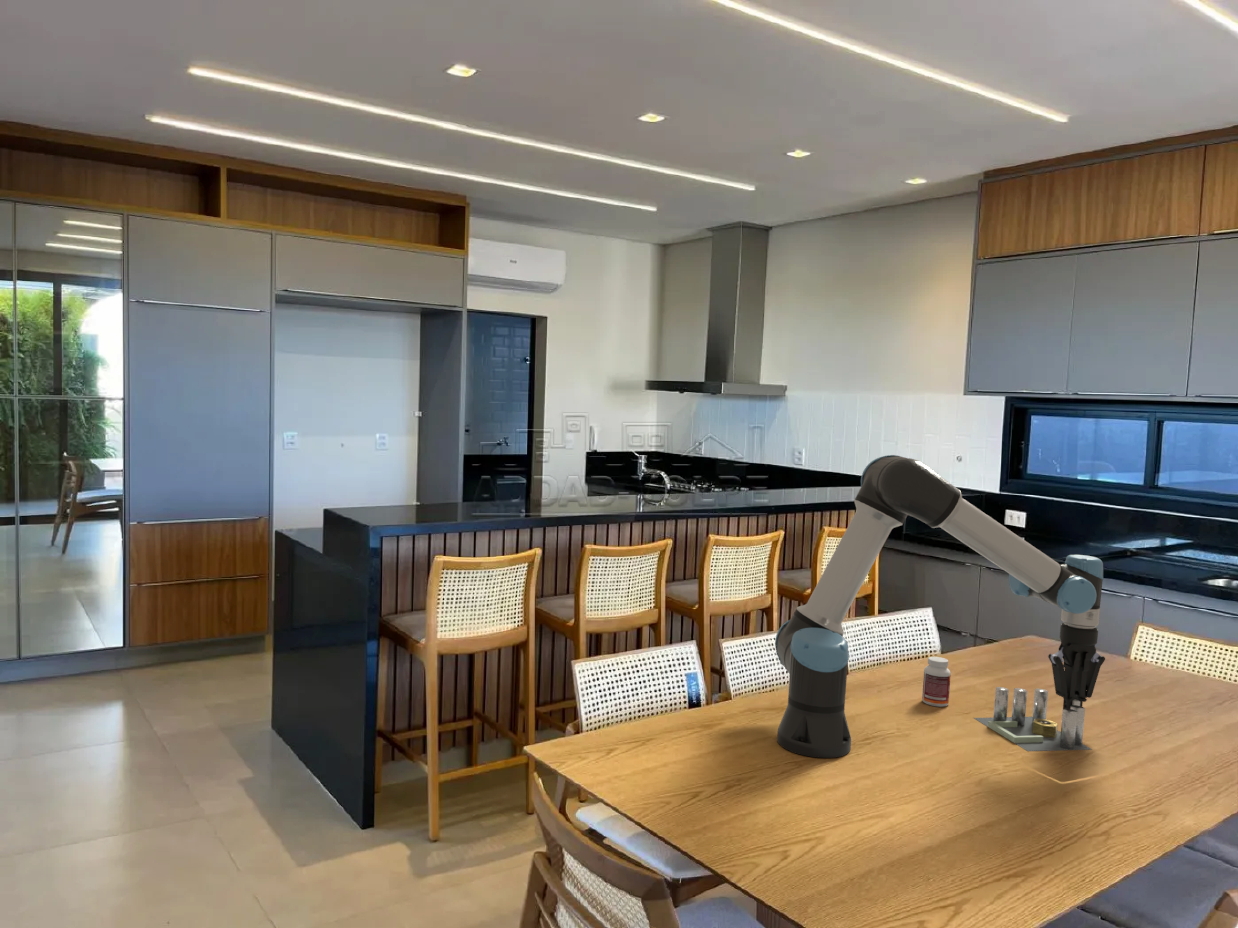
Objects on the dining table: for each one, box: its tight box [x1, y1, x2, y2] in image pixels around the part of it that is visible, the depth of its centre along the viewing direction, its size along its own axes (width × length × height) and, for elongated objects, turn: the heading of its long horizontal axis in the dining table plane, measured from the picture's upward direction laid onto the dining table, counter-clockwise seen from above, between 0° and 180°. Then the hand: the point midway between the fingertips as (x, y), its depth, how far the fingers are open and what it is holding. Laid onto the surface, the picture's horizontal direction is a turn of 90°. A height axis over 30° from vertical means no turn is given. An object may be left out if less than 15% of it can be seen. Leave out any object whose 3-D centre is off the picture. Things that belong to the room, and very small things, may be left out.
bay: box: [986, 721, 1043, 744], centre depth 197 cm, size 7×10×1 cm
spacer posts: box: [992, 686, 1086, 751], centre depth 198 cm, size 12×18×8 cm
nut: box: [1032, 718, 1059, 738], centre depth 199 cm, size 5×5×3 cm
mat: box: [973, 716, 1093, 752], centre depth 199 cm, size 16×20×1 cm
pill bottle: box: [921, 656, 952, 708], centre depth 218 cm, size 6×6×11 cm
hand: (1070, 727), depth 200 cm, fingers closed
